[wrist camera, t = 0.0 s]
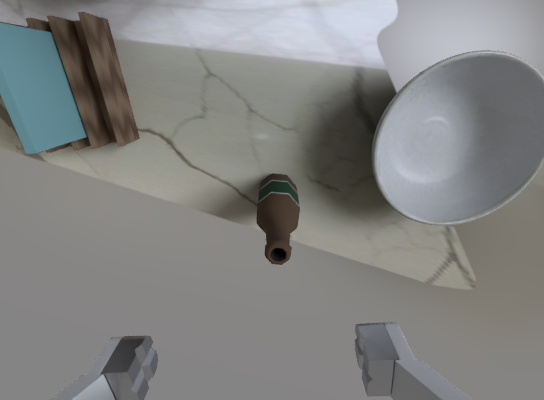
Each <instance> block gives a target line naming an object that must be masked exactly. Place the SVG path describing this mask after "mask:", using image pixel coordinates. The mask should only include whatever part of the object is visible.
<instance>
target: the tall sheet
mask: <svg viewBox="0 0 544 400" xmlns="http://www.w3.org/2000/svg"><path fill="white" fill-rule="evenodd" d="M0 95H1V97H2V99H3V102H4V104H5V106H6V109H7V111H8V113H9V115H10V118H11V120H12V122H13V125H14V127H15V129H16V132H17V134H18V136H19V139H20V141H21V143H22V145H23V148H24V150H25V152H26V154H33V153H39V152H42V151H45V150H48V149H51V148H54V147H57V146H60V145H63V144H67V143H70V142H73V141H76V140H79V139H82V138H85V137H88V135H87V132H86V130H85V127H84V124H83V121H82V118H81V115H80V112H79V109H78V106H77V103H76V100H75V97H74V94H73V91H72V88H71V85H70V82H69V80H68V77H67V74H66V71H65V68H64V65H63V62H62V59H61V56H60V53H59V50H58V47H57V44H56V41H55V38H54V35H53V33H52V32H46V31H41V30H36V29H31V28H25V27H20V26H15V25H9V24H4V23H0Z"/></svg>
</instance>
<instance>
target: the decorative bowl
mask: <svg viewBox="0 0 544 400" xmlns="http://www.w3.org/2000/svg"><path fill="white" fill-rule="evenodd" d="M543 163H544V77H543V75H542V74H541V73H540V72H539V71H538V70H537V69H536V68H535V67H534V66H532V64H530V63H529V62H527V61H526V60H524V59H522V58H520V57H517V56H515V55H512V54H509V53H505V52H500V51H490V50H483V51H472V52H467V53H463V54H459V55H455V56H452V57H450V58H447V59H445V60H442V61H440V62H438V63H436V64H434V65H432V66H430V67H429V68H427V69H425V70H424V71H422V72H421V73H419V74H418V75H417V76H415V77H414V78H413V79H411V80H410V81H409V82H408V83H407V84H406V85H405V86H404V87H403V88H402V89H401V90H400V91H399V92H398V93H397V94H396V95H395V96H394V98H393V99H392V100H391V101H390V103H389V104H388V106H387V107H386V109H385V111H384V112H383V114H382V116H381V118H380V120H379V123H378V125H377V128H376V131H375V134H374V139H373V144H372V168H373V173H374V177H375V180H376V183H377V186H378V188H379V190H380V192H381V194H382V195H383V197H384V198H385V200H386V201H387V202H388V203H389V204H390V205H391V206H392V207H393V208H394V209H395V210H396V211H397V212H399V213H400V214H402V215H404V216H405V217H407V218H409V219H412V220H414V221H417V222H420V223H424V224H430V225H455V224H461V223H466V222H469V221H473V220H476V219H479V218H481V217H483V216H486V215H488V214H490V213H492V212H494V211H495V210H497V209H499V208H501V207H502V206H504V205H505V204H506V203H508V202H509V201H511V200H512V199H513V198H514V197H516V196H517V195H518V194H519V193H520V192H521V191H522V190H523V189H524V188H525V187H526V186H527V185H528V184H529V183H530V182H531V180H532V179H533V178H534V177H535V175H536V174H537V172H538V171H539V169H540V168H541V166H542V164H543Z"/></svg>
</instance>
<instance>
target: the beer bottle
mask: <svg viewBox="0 0 544 400" xmlns="http://www.w3.org/2000/svg"><path fill="white" fill-rule="evenodd" d="M299 212H300V206H299V200H298V194H297V188H296V185H295V184H294V183H293V182H292V181H291V180H290V178H289V177H288V176H287V175H281V174H271V175H270V176H269V177H268V178H266V179H265V180H264V181H262V182H261V186H260V193H259V199H258V208H257V224H258V225H259V227H260V228H261V229H262V230H263V231H264V232H265V233H266V241H267V245H266V246H265V256H266V258H267V259H268V260H269V261H270V262H271V263H272V264H280V265H282V264H283V263H285V262H286V261H288V260H289V259H290V256H291V249H292V248H291V246H290V245H289V239H290V233H291V232H293V231H294V230H295V229H296V228H297V226H298V219H299Z"/></svg>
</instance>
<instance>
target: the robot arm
mask: <svg viewBox="0 0 544 400" xmlns="http://www.w3.org/2000/svg"><path fill="white" fill-rule="evenodd" d="M355 332H356V335H357V338H356V340H355V351H356V357H357V362H358V365H359V367H360V368H361V369H362V380H363V383H364V387H365V390H366V394H367V396H391V397H392V399H393V400H471V399H470V398H469V397H468V396H466V395H465V394H464V393H462V392H461V391H460V390H459V389H457V388H456V387H454V386H453V385H452V384H451V383H449V382H448V381H447V380H445V379H444V378H443V377H442V376H440V375H439V374H438V373H437V372H435V371H434V370H433V369H431V368H430V367H429V366H428V365H426V364H425V363H424V362H422V361H421V360H419V359H415V358H414V355H413V354H412V351H411V349H410V347H409V346H408V344H407V341H406V339H405V337H404V335H403V333H402V331H401V329H400V327H399V325H398V323H396V322H383V323H366V324H356V326H355ZM152 343H153V341H152V338H151V336H124V337H112V338H110V339H109V340H108V342H107V343H106V344H105V346H104V348H103V349H102V351H101V352H100V354H99V355H98V357H97V358H96V360H95V361H94V363H93V365H92V366H91V368H90V369H89V371H88V372H87V374H86V375H82V376H80V377H79V378H78V379H76V380H75V381H74V382H73V383H71V384H70V385H69V386H67V387H66V388H65V389H63V390H62V391H61V392H59V393H58V394H57V395H55V396H54V397H53V398H51V399H50V400H144V398H145V396H146V394H147V391H148V389H149V386H148V381H149V380H150V379H151V378H152V377H153V376H154V374H155V371H156V369H157V363H158V357H157V356H158V355H157V352H156V350H155V349H154V348H152V347H151V346H152Z"/></svg>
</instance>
